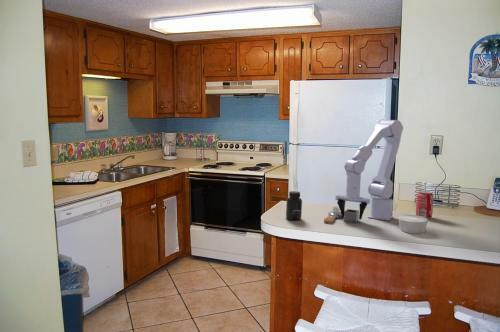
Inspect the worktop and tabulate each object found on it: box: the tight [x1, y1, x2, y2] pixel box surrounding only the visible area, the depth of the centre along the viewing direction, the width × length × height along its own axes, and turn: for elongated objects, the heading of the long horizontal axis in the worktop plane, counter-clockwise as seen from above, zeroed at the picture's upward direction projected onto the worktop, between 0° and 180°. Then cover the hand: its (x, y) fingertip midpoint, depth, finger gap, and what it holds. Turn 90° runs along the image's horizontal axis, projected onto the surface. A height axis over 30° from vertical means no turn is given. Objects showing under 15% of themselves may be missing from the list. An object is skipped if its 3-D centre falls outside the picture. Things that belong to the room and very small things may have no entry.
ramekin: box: [397, 214, 429, 235], centre depth 168 cm, size 11×11×5 cm
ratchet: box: [323, 205, 344, 225], centre depth 184 cm, size 16×7×4 cm, turn 152°
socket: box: [343, 208, 360, 224], centre depth 181 cm, size 5×5×4 cm
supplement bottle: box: [285, 190, 303, 222], centre depth 182 cm, size 7×7×12 cm
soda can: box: [415, 190, 435, 220], centre depth 189 cm, size 7×7×12 cm
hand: (351, 217), depth 181 cm, fingers open, 7 cm apart
